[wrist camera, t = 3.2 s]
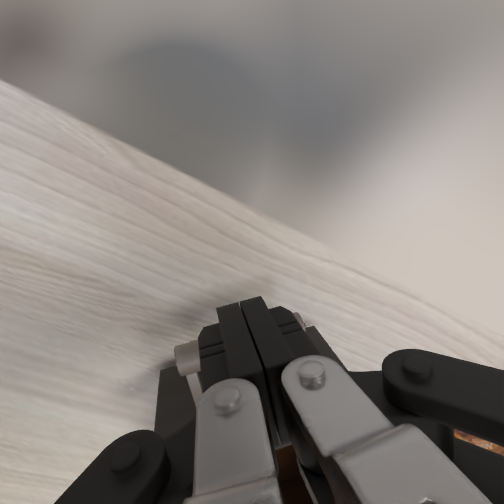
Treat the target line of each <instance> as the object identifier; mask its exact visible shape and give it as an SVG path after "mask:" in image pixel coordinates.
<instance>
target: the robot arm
mask: <svg viewBox="0 0 504 504" xmlns="http://www.w3.org/2000/svg"><path fill="white" fill-rule="evenodd" d="M239 303H240V307H239V304H238V302H237V303H233V304H229V305H225V306H222V307H218V308H216V309H217V314H218V318H219V323H217V324H214V325H210V326H206V327H203V329H202V331H201V333H200V335H199V337H198V346H199V357H200V369H201V381H202V392H203V394H202V396H201V397H200V399H199V401H198V403H197V408H196V414H195V416H194V417H193V418H192V419H191V420H190V421H189V422H188V423H187V424H185V425H184V426H183V427H181V428H180V429H178V430H177V431H175V432H173V433H172V434H170V435H168V436H167V437H165V438H164V439H162V438H161V437H160V436H159V435H158V434H157V433H156V432H153V431H150V430H137V431H133V432H130V433H128V434H125V435H123V436H121V437H119V438H118V439H116V440H115V441H113V442H112V443H111V444H110V445H108V446H107V447H106V448H105V449H104V450H103V451H102V452H101V453H100V454H99V455H98V456H97V458H96V459H95V460H94V461H93V462H92V463H91V464H90V465H89V466H88V467H87V468H86V469H85V471H84V472H83V473H82V474H81V475H80V476H79V477H78V478H77V479H76V480H75V481H74V482H73V483H72V485H71V486H70V487H69V488H68V489H67V490H66V491H65V492H64V493H63V494H62V495H61V496H60V497H59V499H58V500H57V501H56V502H55V503H54V504H284V502H283V498H282V493H281V488H280V484H279V479H278V474H279V467H278V462H277V458H276V453H275V449H274V448H275V447H278V446H279V441H278V437H277V432H278V435H279V438H280V440H281V443H282V445H283V444H286V443H289V442H292V445H293V448H294V450H295V453H296V456H297V462H298V467H299V471H300V474H301V476H302V479H303V481H304V483H305V485H306V487H307V489H308V492H309V494H310V496H311V498H312V500H313V503H314V504H504V456H503V455H500V454H498V453H495V452H492V451H490V450H487V449H485V448H482V447H480V446H477V445H474V444H472V443H469V442H467V441H464V440H461V439H459V438H456V437H454V433H455V429H456V430H459V431H462V432H464V433H467V434H470V435H472V436H475V437H478V438H480V439H483V440H486V441H488V442H491V443H494V444H496V445H499V446H502V447H504V370H500V369H496V368H492V367H488V366H484V365H480V364H476V363H472V362H468V361H464V360H460V359H456V358H452V357H448V356H444V355H440V354H436V353H432V352H428V351H424V350H419V349H403V350H398V351H395V352H393V353H391V354H389V355H388V356H387V357H386V358H385V359H384V360H383V363H382V371H368V372H351V371H345V370H344V369H343V368H342V367H341V366H340V365H339V364H338V363H337V362H336V361H334V360H332V359H330V358H328V357H325V356H322V355H321V354H320V352H319V351H318V349H317V348H316V347H315V345H314V344H313V342H312V341H311V339H310V338H309V336H308V335H307V333H306V332H305V331H304V330H303V328H302V326H301V325H300V323H299V322H298V320H297V319H296V318H295V316H294V315H293V313H292V312H291V311H289V310H287V309H285V308H283V307H281V306H279V307H275V308H271V309H268V308H267V306H266V304H265V302H264V300H263V299H262V297H261V296H259V297H255V298H251V299H248V300H244V301H240V302H239ZM240 308H241V309H240ZM275 426H276V427H275ZM276 429H277V432H276Z"/></svg>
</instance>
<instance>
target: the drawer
mask: <svg viewBox="0 0 504 504" xmlns="http://www.w3.org/2000/svg"><path fill="white" fill-rule="evenodd" d="M293 315H294V316H295V318H296V319H297V320H298V322H299V323H300V325H301V326H302V328H303V330H304V331H305V332H306V333H307V335H308V336H309V338H310V339H311V341H312V342H313V344H314V345H315V347H316V348H317V349H318V351H319V352H320V354H321V355H322V356H325V357H328V358H330V359H332V360H334V361H336V362H337V363H338V364H339V365H340V366H341V367H342V368H343V369H344V370H345V371H348V370H347V369H346V368H345V366H344V365H343V364H342V362H341V361H340V360H339V358H338V357H337V356H336V354H335V353H334V352H333V350H332V349H331V348H330V346H329V345H328V344H327V342H326V341H325V340H324V338H323V337H322V336H321V334H320V333H319V332H318V330H317V329H316V328H315V326H311V327H308V328H305V327H304V324H303V321H302V318H301V316H300V315H299V313H297V312H295V313H293ZM174 353H175V360H176V366H173V367H169V368H166V369H163V370H160V376H159V387H158V397H157V408H156V418H155V428H154V432H156V433H157V434H158V435H159V436H160V437H161V438H162V439H164V438H165V437H167V436H168V435H170V434H172V433H173V432H175V431H177V430H178V429H180V428H181V427H183V426H184V425H185V424H187V423H188V422H189V421H190V420H191V419H192V418H193V417H194V416H195V414H196V408H197V403H198V401H199V399H200V397H201V396H202V394H203V392H202V381H201V369H200V357H199V346H198V340H196V341H192V342H189V343H185V344H182V345H178V346H175V349H174ZM275 427H276V426H275ZM276 432H277V429H276ZM277 437H278V441H279V446H278V447H275V448H274V449H275V453H276V458H277V462H278V467H279V474H278V479H279V484H280V488H281V493H282V498H283V502H284V504H314V503H313V500H312V498H311V496H310V494H309V492H308V489H307V487H306V485H305V483H304V481H303V479H302V476H301V474H300V471H299V467H298V462H297V456H296V453H295V450H294V448H293V445H292V442H289V443H286V444H283V445H282V443H281V440H280V438H279V435H278V432H277Z"/></svg>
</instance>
